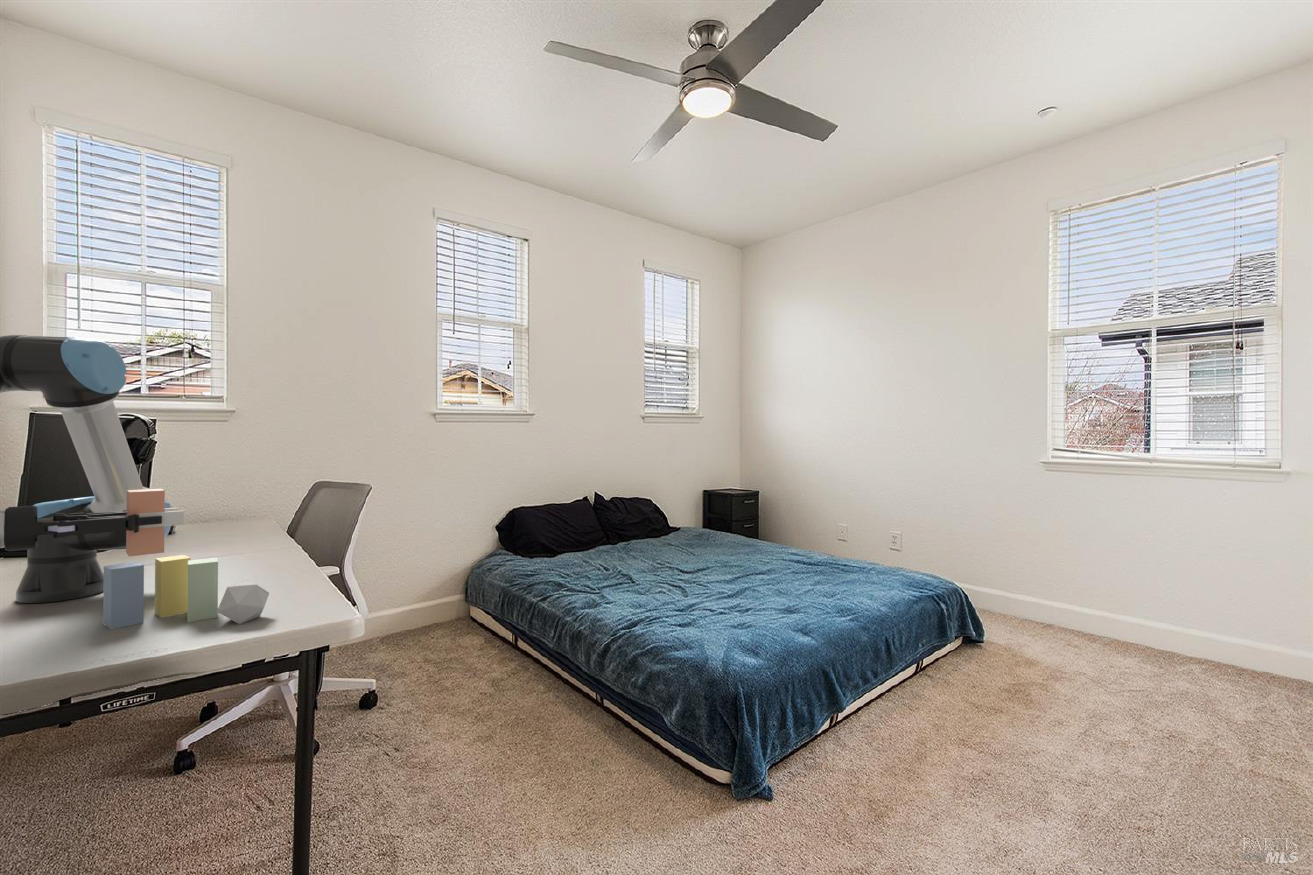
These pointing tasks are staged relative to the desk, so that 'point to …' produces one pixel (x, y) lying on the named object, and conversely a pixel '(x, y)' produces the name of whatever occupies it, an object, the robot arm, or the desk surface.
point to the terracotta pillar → (146, 537)
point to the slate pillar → (123, 595)
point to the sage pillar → (202, 589)
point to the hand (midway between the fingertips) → (180, 515)
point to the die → (243, 602)
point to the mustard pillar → (171, 585)
